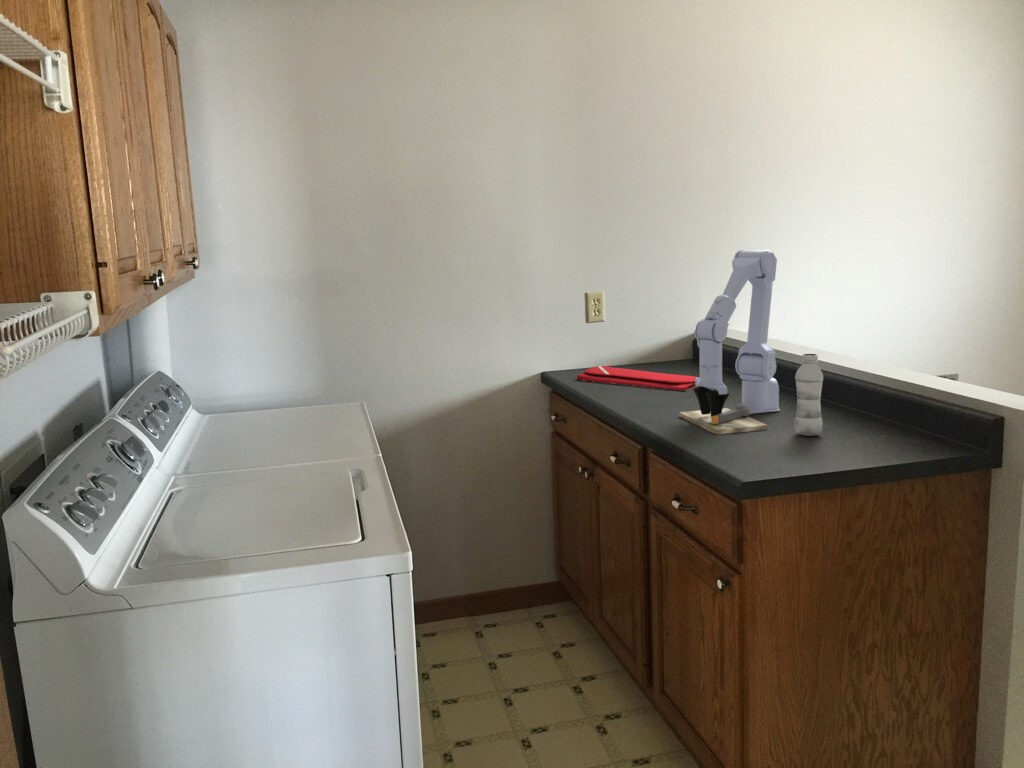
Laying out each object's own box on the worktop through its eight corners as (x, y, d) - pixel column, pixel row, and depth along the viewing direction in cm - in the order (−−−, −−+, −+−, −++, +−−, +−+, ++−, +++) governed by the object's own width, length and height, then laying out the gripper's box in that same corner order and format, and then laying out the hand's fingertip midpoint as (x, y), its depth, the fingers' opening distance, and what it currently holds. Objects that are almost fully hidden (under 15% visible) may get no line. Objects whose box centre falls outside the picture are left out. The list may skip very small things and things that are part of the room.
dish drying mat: (685, 393, 280) (685, 381, 279) (576, 382, 305) (575, 371, 304) (708, 384, 292) (708, 373, 291) (601, 374, 317) (601, 364, 316)
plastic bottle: (808, 440, 217) (810, 357, 213) (788, 434, 223) (789, 354, 219) (828, 436, 220) (830, 354, 216) (807, 430, 226) (809, 351, 222)
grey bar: (740, 412, 241) (741, 402, 241) (752, 414, 238) (752, 404, 238) (707, 422, 231) (707, 412, 231) (719, 424, 229) (719, 414, 228)
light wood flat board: (726, 412, 250) (727, 407, 249) (769, 430, 227) (769, 425, 227) (676, 416, 246) (676, 411, 246) (715, 436, 224) (715, 430, 224)
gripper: (684, 362, 241) (684, 412, 243) (709, 371, 227) (709, 423, 229) (709, 360, 242) (709, 409, 245) (734, 368, 228) (734, 421, 231)
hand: (710, 416), depth 237 cm, fingers open, 5 cm apart
